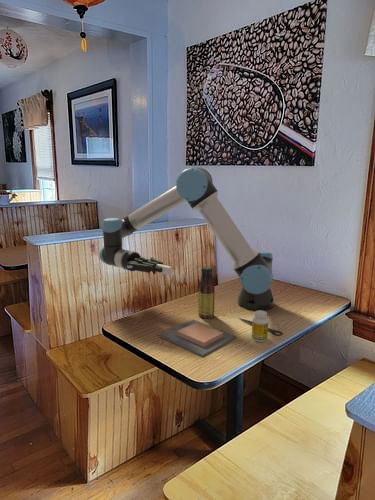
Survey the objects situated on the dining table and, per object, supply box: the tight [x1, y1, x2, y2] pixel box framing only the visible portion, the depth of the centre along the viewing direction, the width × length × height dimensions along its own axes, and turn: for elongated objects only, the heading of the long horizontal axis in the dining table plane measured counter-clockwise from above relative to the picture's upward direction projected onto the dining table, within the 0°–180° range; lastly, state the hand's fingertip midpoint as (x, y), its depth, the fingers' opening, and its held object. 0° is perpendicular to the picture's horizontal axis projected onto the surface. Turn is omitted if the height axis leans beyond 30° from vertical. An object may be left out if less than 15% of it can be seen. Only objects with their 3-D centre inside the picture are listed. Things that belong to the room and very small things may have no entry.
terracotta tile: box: [177, 322, 223, 347], centre depth 125 cm, size 2×10×12 cm
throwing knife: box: [237, 317, 284, 337], centre depth 135 cm, size 4×20×1 cm, turn 43°
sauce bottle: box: [197, 265, 216, 319], centre depth 141 cm, size 7×6×20 cm
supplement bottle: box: [251, 310, 270, 343], centre depth 124 cm, size 5×5×10 cm
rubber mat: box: [158, 319, 238, 358], centre depth 126 cm, size 20×18×1 cm
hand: (170, 271), depth 130 cm, fingers closed
